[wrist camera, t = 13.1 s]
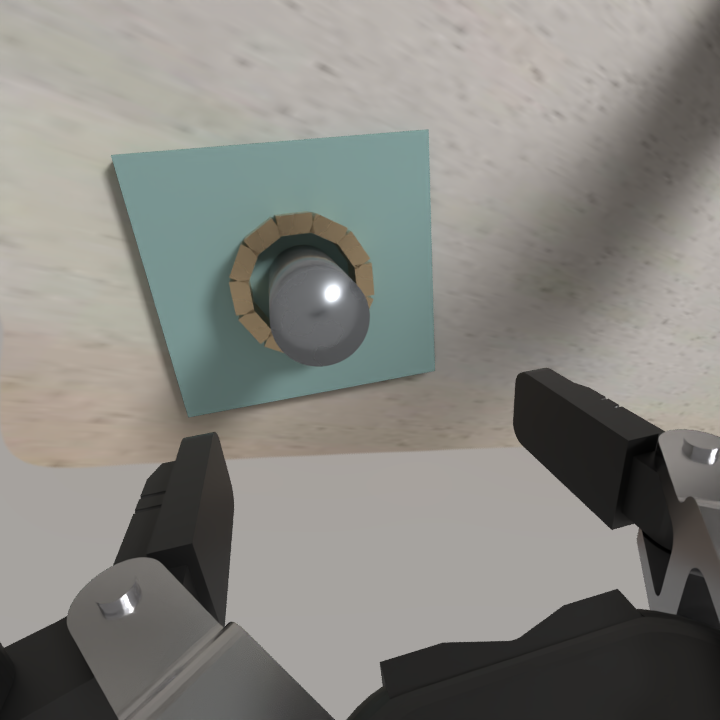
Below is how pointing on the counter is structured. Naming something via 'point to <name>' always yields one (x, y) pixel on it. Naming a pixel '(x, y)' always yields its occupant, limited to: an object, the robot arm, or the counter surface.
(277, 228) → the ring collar
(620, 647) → the robot arm
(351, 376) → the ring mat
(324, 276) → the cylinder
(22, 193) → the counter surface
